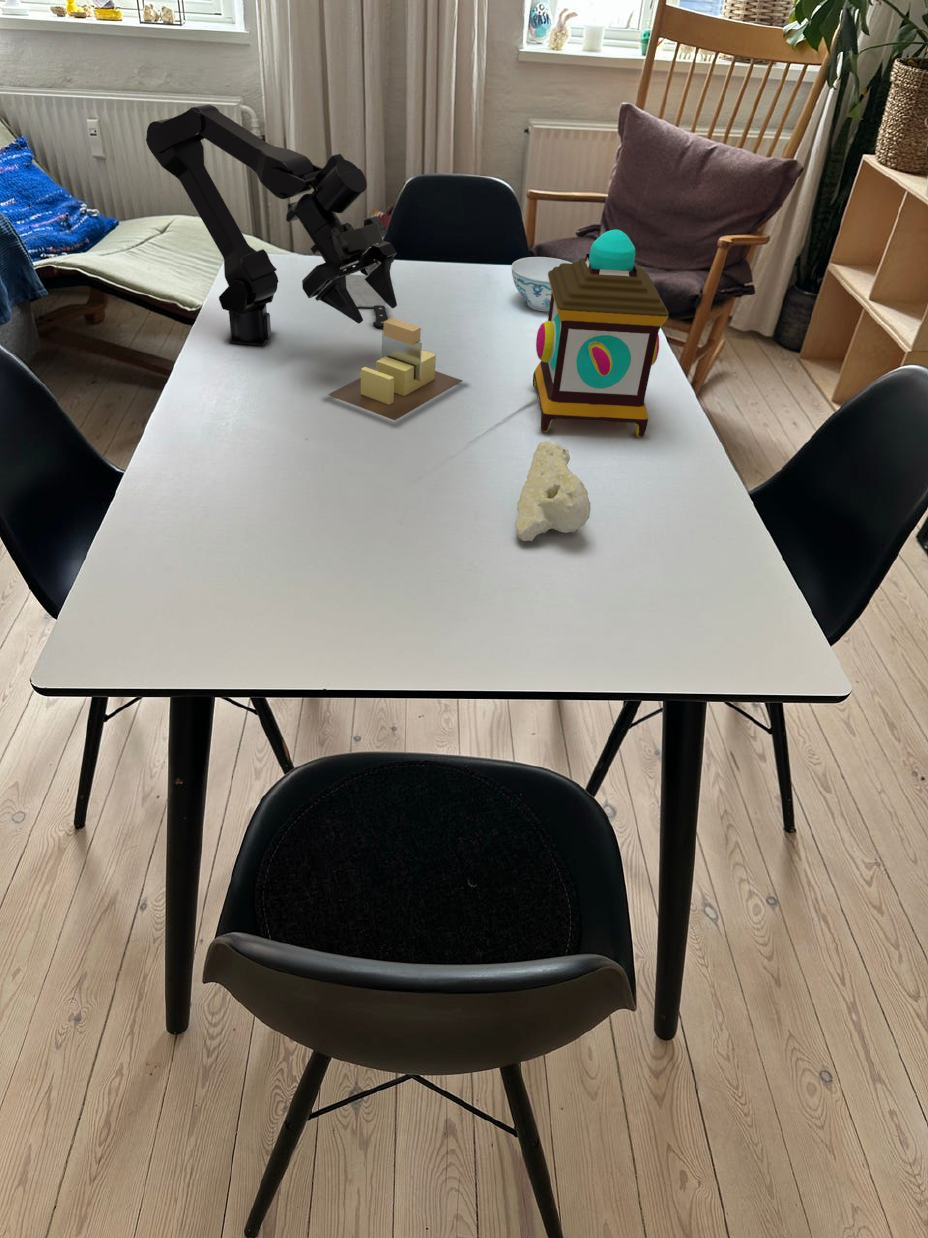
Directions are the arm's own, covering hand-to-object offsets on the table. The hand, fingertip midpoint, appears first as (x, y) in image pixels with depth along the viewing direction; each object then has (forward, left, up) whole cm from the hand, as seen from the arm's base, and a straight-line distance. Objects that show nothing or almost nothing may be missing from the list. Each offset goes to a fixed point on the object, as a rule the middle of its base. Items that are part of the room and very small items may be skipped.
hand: (378, 314), depth 153 cm
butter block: (+5, -1, -11) cm, 12 cm away
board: (+4, -3, -12) cm, 13 cm away
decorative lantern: (+36, -4, -12) cm, 39 cm away
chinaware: (+29, +45, -12) cm, 55 cm away
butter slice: (+1, -8, -11) cm, 14 cm away
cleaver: (-8, +38, -12) cm, 40 cm away
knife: (+4, -2, -9) cm, 10 cm away
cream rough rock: (+28, -38, -12) cm, 49 cm away
